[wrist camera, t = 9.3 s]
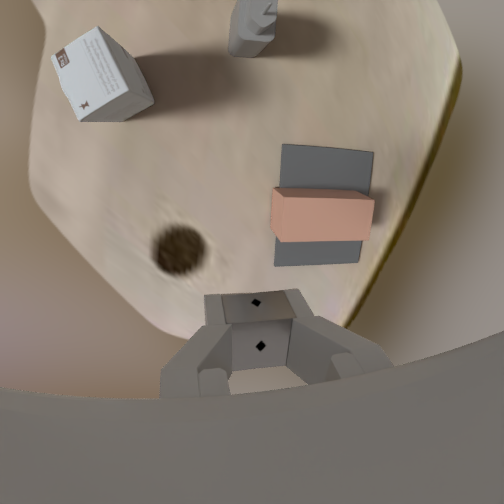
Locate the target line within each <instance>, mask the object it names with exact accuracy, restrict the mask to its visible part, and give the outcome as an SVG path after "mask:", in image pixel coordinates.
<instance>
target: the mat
mask: <svg viewBox="0 0 504 504" xmlns="http://www.w3.org/2000/svg"><path fill="white" fill-rule="evenodd" d="M372 159H373V152H366V151H358V150H348V149H339V148H328V147H316V146H303V145H288V144H282V154H281V170H280V187H279V188H305V189H332V190H353V191H357V192H360V193H362V194H364V195H366V196H368V194H369V186H370V177H371V168H372ZM361 242H362V240H361V241H311V242H280V240H279V239H278V238H277V236H276V245H275V259H274V266H275V267H277V266H301V265H323V264H344V263H358V259H359V253H360V248H361Z"/></svg>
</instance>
